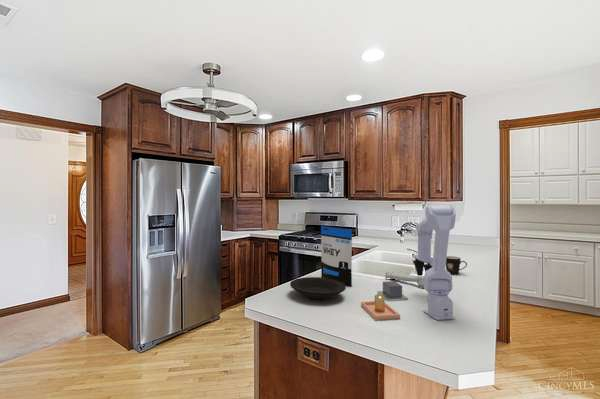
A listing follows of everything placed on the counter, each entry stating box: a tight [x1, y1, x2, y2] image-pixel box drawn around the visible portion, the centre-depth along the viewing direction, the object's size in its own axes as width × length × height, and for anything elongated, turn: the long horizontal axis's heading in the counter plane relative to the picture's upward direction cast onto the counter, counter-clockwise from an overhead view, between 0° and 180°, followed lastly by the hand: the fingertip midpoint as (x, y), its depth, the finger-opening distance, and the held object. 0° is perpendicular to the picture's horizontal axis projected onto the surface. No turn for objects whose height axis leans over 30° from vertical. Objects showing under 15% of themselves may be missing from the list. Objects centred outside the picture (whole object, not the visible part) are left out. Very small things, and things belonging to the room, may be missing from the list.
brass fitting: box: [374, 294, 386, 313], centre depth 128 cm, size 4×4×6 cm
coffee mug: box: [445, 255, 468, 276], centre depth 187 cm, size 12×9×10 cm
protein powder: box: [320, 225, 353, 288], centre depth 172 cm, size 10×24×30 cm, turn 37°
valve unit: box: [376, 280, 409, 302], centre depth 148 cm, size 12×10×6 cm
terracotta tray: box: [360, 300, 401, 321], centre depth 128 cm, size 16×10×2 cm, turn 9°
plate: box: [289, 276, 347, 301], centre depth 148 cm, size 28×24×6 cm
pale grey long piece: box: [385, 271, 425, 289], centre depth 169 cm, size 5×7×25 cm
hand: (424, 277), depth 146 cm, fingers open, 7 cm apart
